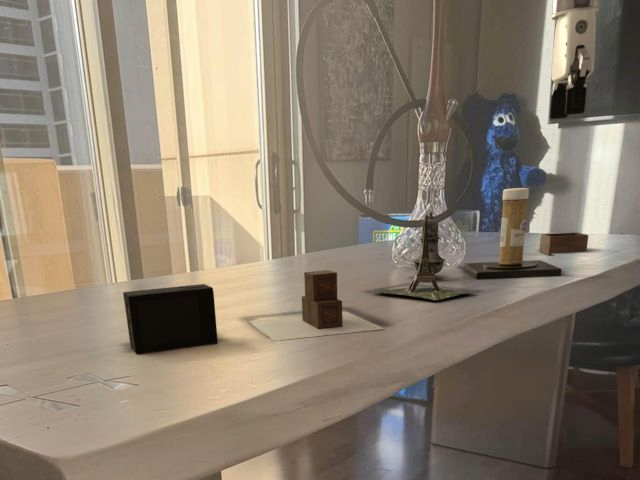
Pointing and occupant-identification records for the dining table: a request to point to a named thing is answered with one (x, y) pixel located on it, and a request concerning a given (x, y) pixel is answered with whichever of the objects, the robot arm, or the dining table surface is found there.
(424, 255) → the eiffel tower figurine
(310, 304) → the stack of crates
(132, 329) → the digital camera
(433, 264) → the dark brown tall piece
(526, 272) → the hob plate
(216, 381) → the dining table surface
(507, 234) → the sprinkles bottle
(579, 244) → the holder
